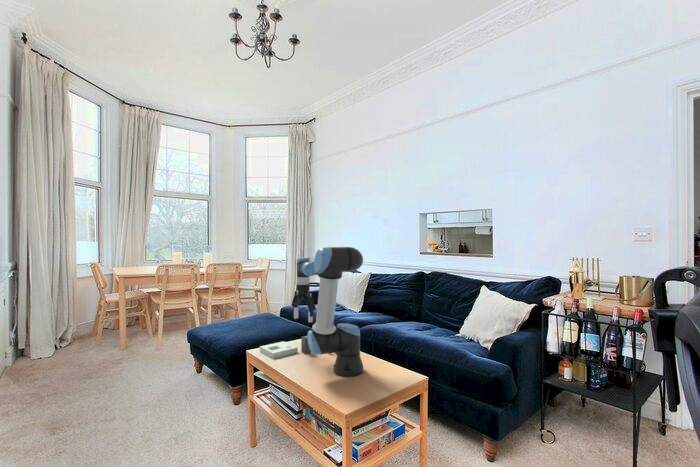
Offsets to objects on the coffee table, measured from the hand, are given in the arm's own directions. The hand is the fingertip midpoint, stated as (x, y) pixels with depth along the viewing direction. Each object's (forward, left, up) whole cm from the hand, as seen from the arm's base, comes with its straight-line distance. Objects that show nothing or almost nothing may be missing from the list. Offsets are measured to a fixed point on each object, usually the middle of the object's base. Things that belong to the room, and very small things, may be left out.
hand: (303, 320), depth 207 cm
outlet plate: (+10, +10, -19) cm, 24 cm away
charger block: (-1, -2, -19) cm, 19 cm away
